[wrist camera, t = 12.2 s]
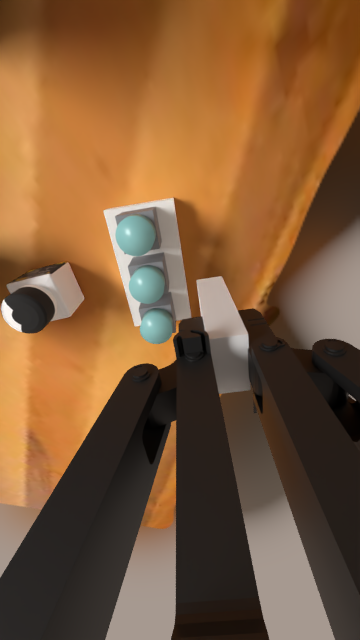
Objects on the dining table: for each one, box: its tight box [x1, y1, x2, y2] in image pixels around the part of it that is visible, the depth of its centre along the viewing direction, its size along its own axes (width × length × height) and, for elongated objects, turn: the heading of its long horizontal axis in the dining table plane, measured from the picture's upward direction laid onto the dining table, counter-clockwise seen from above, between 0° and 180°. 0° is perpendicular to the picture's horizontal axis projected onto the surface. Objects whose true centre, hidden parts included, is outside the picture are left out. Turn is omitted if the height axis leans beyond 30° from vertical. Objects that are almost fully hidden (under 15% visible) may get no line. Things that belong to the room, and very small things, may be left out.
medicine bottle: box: [1, 262, 84, 333], centre depth 40 cm, size 7×7×12 cm
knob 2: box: [129, 265, 165, 304], centre depth 38 cm, size 5×5×8 cm
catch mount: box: [104, 197, 191, 333], centre depth 40 cm, size 10×19×8 cm, turn 9°
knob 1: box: [115, 214, 156, 256], centre depth 35 cm, size 5×5×8 cm
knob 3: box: [140, 308, 173, 344], centre depth 41 cm, size 5×5×8 cm
